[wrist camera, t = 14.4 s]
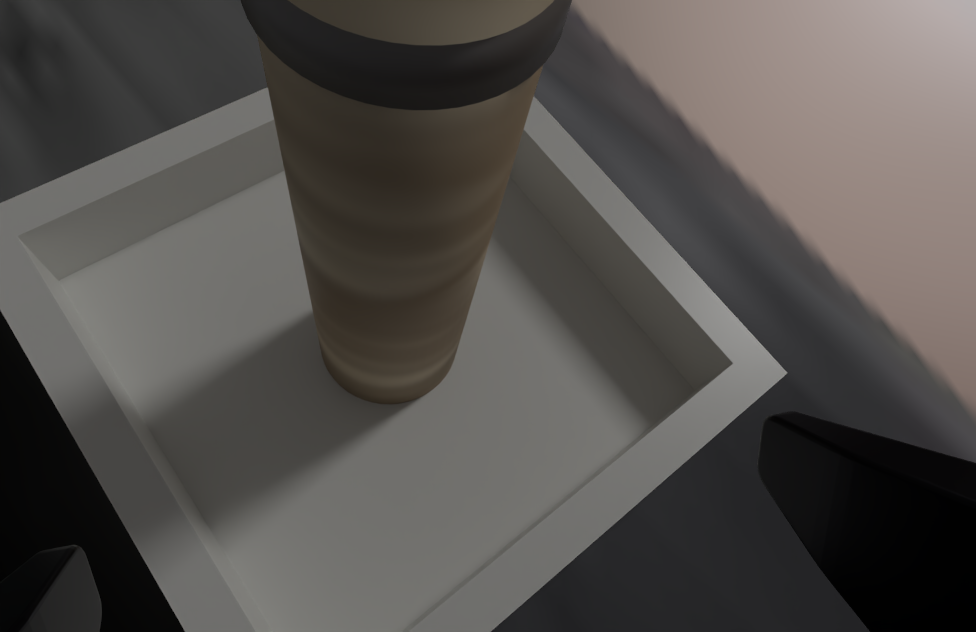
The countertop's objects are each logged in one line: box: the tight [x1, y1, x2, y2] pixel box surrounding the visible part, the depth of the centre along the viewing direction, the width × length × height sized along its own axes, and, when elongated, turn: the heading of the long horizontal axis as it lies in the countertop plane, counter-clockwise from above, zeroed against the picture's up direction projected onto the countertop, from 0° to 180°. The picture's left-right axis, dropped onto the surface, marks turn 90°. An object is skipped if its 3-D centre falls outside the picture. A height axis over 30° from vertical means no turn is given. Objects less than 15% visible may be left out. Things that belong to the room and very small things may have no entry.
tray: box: [0, 87, 787, 632], centre depth 17 cm, size 14×14×3 cm
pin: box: [241, 0, 572, 404], centre depth 12 cm, size 4×4×12 cm
